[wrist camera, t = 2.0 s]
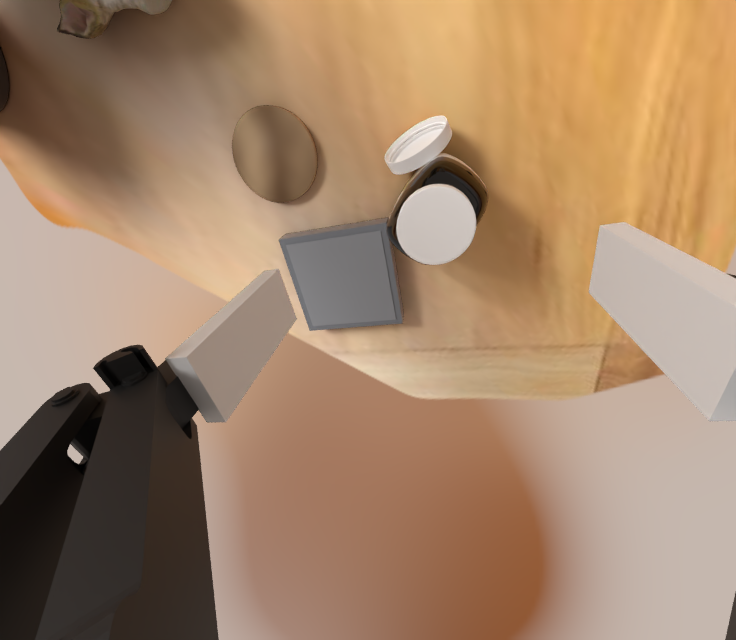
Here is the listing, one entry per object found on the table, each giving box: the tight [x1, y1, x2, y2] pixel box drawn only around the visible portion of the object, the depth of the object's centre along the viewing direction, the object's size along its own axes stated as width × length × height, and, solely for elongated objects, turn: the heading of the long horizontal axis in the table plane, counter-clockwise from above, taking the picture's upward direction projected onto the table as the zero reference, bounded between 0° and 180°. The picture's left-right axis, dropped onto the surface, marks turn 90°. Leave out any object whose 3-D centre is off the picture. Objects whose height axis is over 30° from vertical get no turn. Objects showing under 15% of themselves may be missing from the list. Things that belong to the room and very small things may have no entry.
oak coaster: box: [232, 105, 318, 203], centre depth 37 cm, size 10×10×1 cm
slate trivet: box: [279, 217, 404, 331], centre depth 43 cm, size 14×14×3 cm
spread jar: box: [385, 116, 488, 265], centre depth 31 cm, size 12×11×12 cm
